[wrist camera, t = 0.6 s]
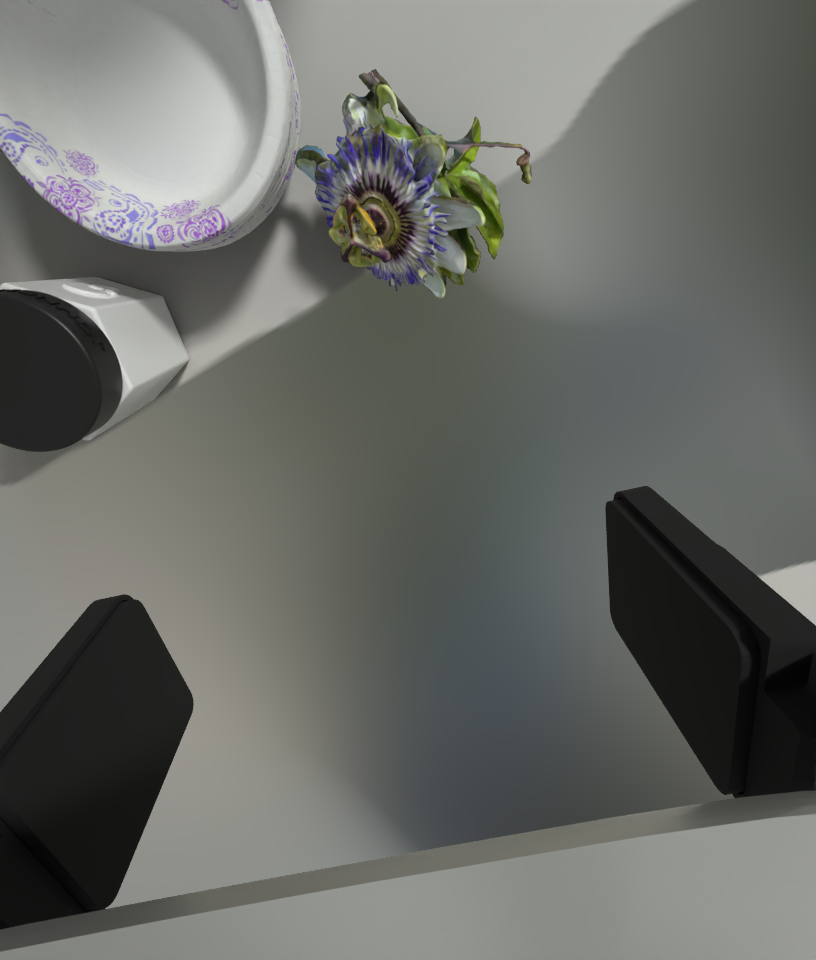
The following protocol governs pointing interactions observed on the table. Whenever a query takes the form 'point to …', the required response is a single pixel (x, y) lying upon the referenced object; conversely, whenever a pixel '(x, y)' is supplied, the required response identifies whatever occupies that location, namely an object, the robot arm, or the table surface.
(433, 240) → the passion flower
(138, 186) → the paper bowls
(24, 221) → the table surface
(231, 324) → the table surface
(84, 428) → the jar
